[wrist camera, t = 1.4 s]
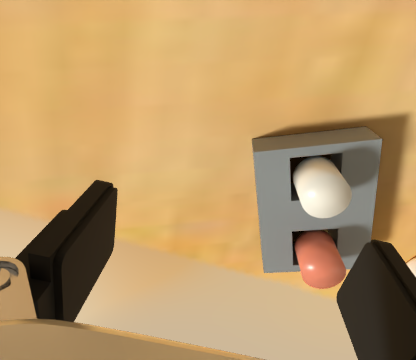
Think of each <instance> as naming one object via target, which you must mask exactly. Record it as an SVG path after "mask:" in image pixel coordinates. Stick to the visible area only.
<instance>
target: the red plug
mask: <svg viewBox="0 0 416 360" xmlns="http://www.w3.org/2000/svg"><path fill="white" fill-rule="evenodd" d="M294 247H295V251H296V255H297V259H298V263H299V267H300V271H301V275H302V278H303V280H304V282H305V283H306V284H308V285H309V286H311V287H314V288H320V289H324V288H330V287H333V286H335V285H337V284H339V283H340V282H341V281H342V280H343V279H344V277H345V275H346V268H345V265H344V263H343V261H342V259H341V256H340V254H339V252H338V250H337V247H336V245H335V243H334V241H333V238H332V237H331V235H330V234H328V233H327V232H325V231H322V230H308V231H306V232H304V233H302V234H301V235H299V236H298V238H297V239H296V241H295V244H294Z"/></svg>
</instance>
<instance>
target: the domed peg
mask: <svg viewBox="0 0 416 360" xmlns="http://www.w3.org/2000/svg"><path fill="white" fill-rule="evenodd" d="M293 182H294V185H295V188H296V191H297V194H298V196H299V199H300V202H301V205H302V207H303V209H304V210H305V211H306V212H307V213H308V214H309V215H311V216H313V217H316V218H330V217H334V216H336V215H338V214H340V213H341V212H343V211H344V210H345V209H346V208H347V207H348V205H349V203H350V201H351V198H352V192H351V188H350V186H349V185H348V183H347V182H346V180H345V179H344V177H343V176H342V175H341V173H340V172H339V170H338V169H337V168H336V166H335V165H334V163H333V162H332V161H331V160H329V159H327V158H325V157H321V156H313V157H309V158H306V159H305V160H303V161H301V162H300V163H299V164H298V165H297V166H296V168H295V170H294V172H293Z"/></svg>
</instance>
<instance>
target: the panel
mask: <svg viewBox="0 0 416 360" xmlns="http://www.w3.org/2000/svg"><path fill="white" fill-rule="evenodd" d="M252 146H253V157H254V169H255V181H256V192H257V204H258V215H259V227H260V238H261V250H262V260H263V269H264V273H274V272H296V271H300V267H299V263H298V259H297V255H296V251H295V247H294V244H292V231H308V230H323V229H328V234H330V235H331V237H332V238H333V241H334V243H335V245H336V247H337V250H338V252H339V254H340V256H341V259H342V261H343V263H344V265H345V268H346V269H351V268H352V266H353V265H354V263H355V261H356V259H357V257H358V256H359V254H360V252H361V250H362V249H363V247H364V245H365V244H366V243H368V242H369V243H370V241H371V234H372V225H373V217H374V208H375V199H376V190H377V182H378V173H379V164H380V156H381V147H382V138H381V137H379V136H378V135H377V134H375V133H374V132H373V131H371V130H370V129H369V128H368V127H357V128H348V129H339V130H330V131H321V132H311V133H302V134H293V135H284V136H275V137H266V138H257V139H252ZM325 154H331V161H332V162H333V163H334V165H335V166H336V168H337V169H338V170H339V172H340V173H341V175H342V176H343V177H344V179H345V180H346V182H347V183H348V185H349V186H350V188H351V192H352V198H351V201H350V203H349V205H348V207H347V208H346V209H345V210H344V211H343V212H341V213H340V214H338V215H336V216H334V217H330V218H316V217H313V216H311V215H309V214H308V213H307V212H306V211H305V210H304V209H303V207H302V205H301V202H300V199H299V196H298V194H297V191H296V188H295V185H294V183H291V180H290V158H295V157H305V156H315V155H325Z"/></svg>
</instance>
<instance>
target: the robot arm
mask: <svg viewBox="0 0 416 360" xmlns="http://www.w3.org/2000/svg"><path fill="white" fill-rule="evenodd" d="M116 206H117V188H113V184H112V183H109V182H104V181H100V180H96V181H94V182H93V184H92V185H91V186H90V187H89V188H88V189H87V190H86V191H85V192H84V193H83V194H82V195H81V196H80V197H79V199H78V200H77V201H76V202H75V203H74V204H73V205H72V206H71V207H70V208H69V209H68V210H62V211H61V212H59V213H58V214H57V215H56V216H55V218H54V219H53V220H52V221H51V222H50V223H49V224H48V225H47V226H46V227H45V228H44V229H43V230H42V231H41V232H40V233H39V234H38V235H37V236H36V237H35V238H34V239H33V240H32V241H31V242H30V243H29V244H28V245H27V246H26V248H25V249H24V250H23V251H22V252H21V253H20V254H19V255H18V256H17V257H16V258H11V257H0V360H265V359H259V358H254V357H250V356H245V355H240V354H236V353H231V352H226V351H221V350H216V349H211V348H206V347H201V346H197V345H191V344H187V343H181V342H177V341H172V340H167V339H162V338H157V337H152V336H147V335H142V334H137V333H132V332H126V331H121V330H116V329H110V328H105V327H99V326H94V325H89V324H83V323H75V322H74V320H75V319H76V317H77V315H78V313H79V312H80V310H81V308H82V306H83V304H84V302H85V300H86V299H87V297H88V295H89V294H90V292H91V290H92V288H93V286H94V284H95V283H96V281H97V279H98V277H99V275H100V274H101V272H102V270H103V268H104V267H105V265H106V263H107V261H108V259H109V258H110V256H111V254H112V251H113V247H114V237H115V222H116ZM337 303H338V306H339V309H340V311H341V314H342V317H343V319H344V322H345V325H346V328H347V331H348V333H349V336H350V339H351V342H352V344H353V347H354V350H355V352H356V355H357V358H358V360H416V277H415V275H414V274H413V273H412V271H411V270H410V268H409V267H408V266H407V264H406V263H405V262H404V260H403V259H402V257H401V256H400V255H399V253H398V252H397V250H396V249H395V248H394V246H393V245H392V244H391V243H388V242H383V241H379V240H372V241H370V243H369V242H368V243H366V244H365V245H364V247H363V249H362V250H361V252H360V254H359V256H358V257H357V259H356V261H355V263H354V265H353V266H352V268H351V270H350V272H349V273H348V275H347V277H346V279H345V280H344V282H343V284H342V286H341V288H340V289H339V291H338V293H337Z"/></svg>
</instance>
